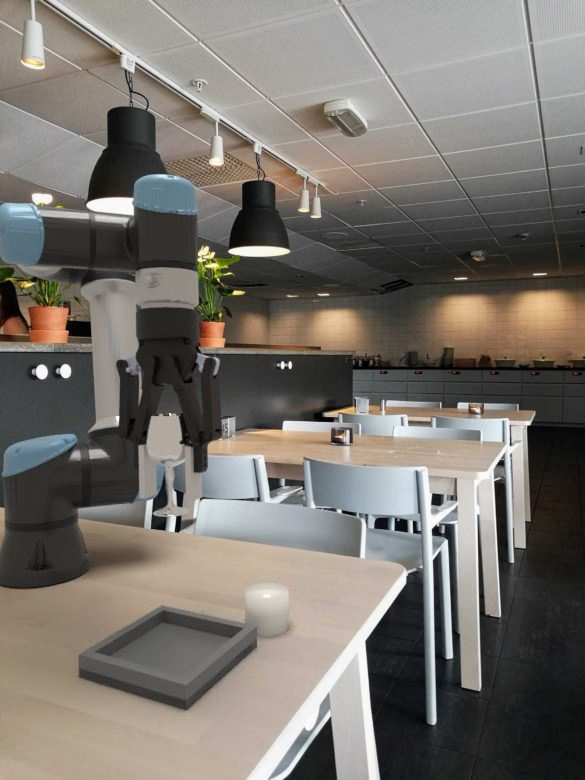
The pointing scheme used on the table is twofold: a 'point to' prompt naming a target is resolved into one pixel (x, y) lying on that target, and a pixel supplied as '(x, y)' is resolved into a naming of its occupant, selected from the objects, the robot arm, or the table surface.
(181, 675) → the tray
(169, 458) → the wineglass
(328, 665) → the table surface
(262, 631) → the white pillar candle
